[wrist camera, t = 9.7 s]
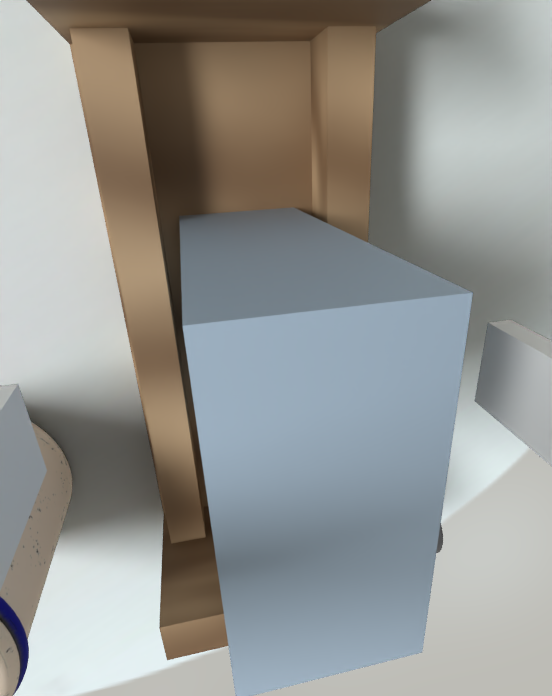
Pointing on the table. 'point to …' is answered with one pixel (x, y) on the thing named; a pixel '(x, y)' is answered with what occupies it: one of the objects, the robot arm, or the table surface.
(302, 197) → the track
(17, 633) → the teacup with lid
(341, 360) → the blue box with knob
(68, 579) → the table surface
